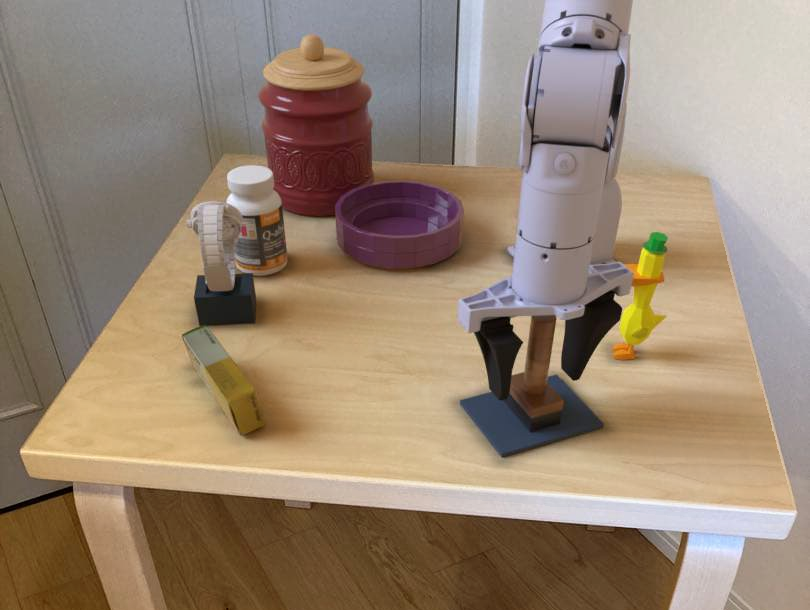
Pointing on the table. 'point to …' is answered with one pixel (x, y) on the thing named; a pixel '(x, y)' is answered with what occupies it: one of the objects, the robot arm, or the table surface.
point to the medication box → (224, 380)
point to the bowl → (399, 224)
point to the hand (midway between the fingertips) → (534, 383)
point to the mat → (512, 433)
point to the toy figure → (642, 297)
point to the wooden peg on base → (536, 380)
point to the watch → (221, 267)
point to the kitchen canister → (316, 126)
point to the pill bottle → (258, 221)
